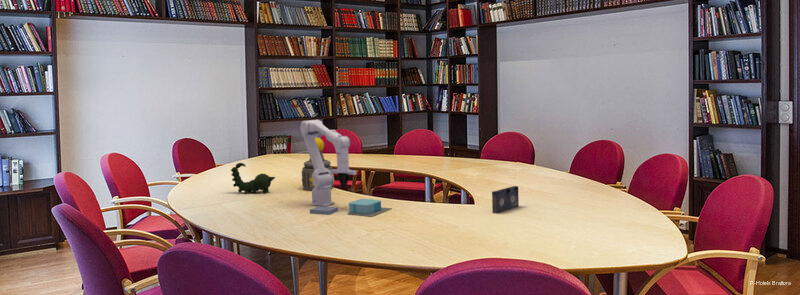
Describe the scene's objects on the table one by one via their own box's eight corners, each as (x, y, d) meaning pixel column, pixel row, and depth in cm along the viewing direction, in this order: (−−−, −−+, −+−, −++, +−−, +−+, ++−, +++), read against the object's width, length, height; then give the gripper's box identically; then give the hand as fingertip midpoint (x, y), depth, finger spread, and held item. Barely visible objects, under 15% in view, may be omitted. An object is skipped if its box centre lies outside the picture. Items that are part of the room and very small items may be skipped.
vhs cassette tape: (514, 206, 301) (514, 185, 300) (519, 206, 299) (519, 186, 298) (491, 212, 288) (490, 191, 287) (496, 213, 286) (496, 192, 285)
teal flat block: (347, 212, 299) (367, 214, 292) (347, 202, 298) (367, 205, 292) (362, 207, 309) (382, 209, 302) (362, 198, 308) (382, 200, 302)
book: (309, 214, 301) (309, 209, 301) (318, 210, 308) (318, 206, 308) (329, 215, 297) (329, 210, 296) (338, 212, 304) (337, 207, 304)
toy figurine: (232, 197, 358) (274, 193, 354) (227, 165, 356) (269, 160, 352) (238, 194, 367) (279, 190, 364) (233, 162, 365) (275, 157, 362)
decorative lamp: (297, 191, 361) (295, 139, 357) (308, 185, 379) (305, 136, 376) (329, 191, 358) (326, 138, 354) (338, 185, 376) (335, 135, 373)
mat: (347, 214, 296) (347, 213, 296) (367, 206, 311) (367, 206, 311) (372, 216, 289) (372, 216, 289) (391, 208, 304) (391, 208, 304)
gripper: (359, 160, 306) (360, 188, 308) (335, 159, 314) (337, 186, 315) (351, 162, 300) (352, 190, 302) (327, 161, 308) (328, 188, 309)
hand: (344, 188), depth 308 cm, fingers closed
